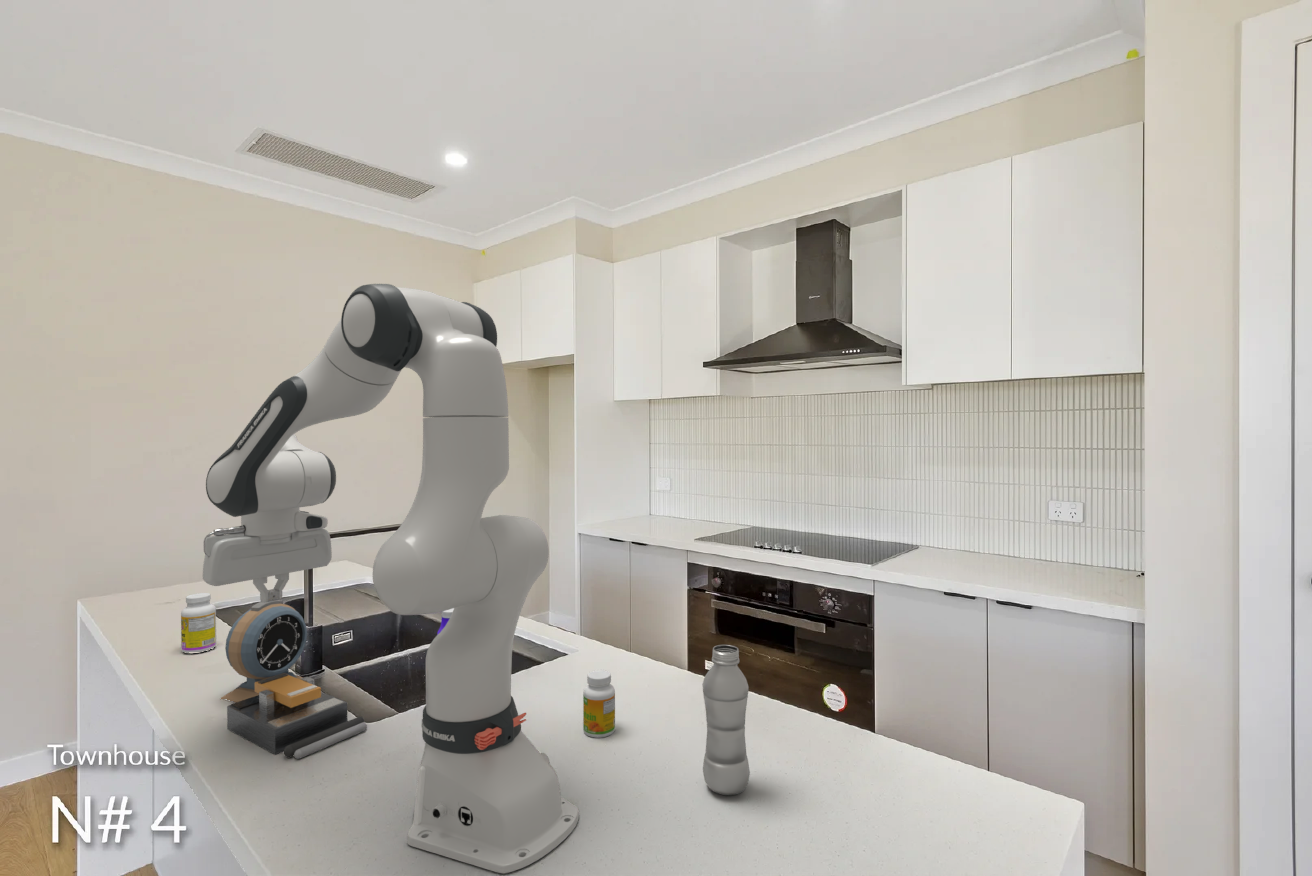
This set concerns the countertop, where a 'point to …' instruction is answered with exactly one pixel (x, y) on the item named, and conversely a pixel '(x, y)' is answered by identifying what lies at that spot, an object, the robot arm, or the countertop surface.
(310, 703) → the dark grey block
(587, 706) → the supplement bottle
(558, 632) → the countertop surface
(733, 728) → the plastic bottle
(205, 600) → the supplement bottle
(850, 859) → the countertop surface
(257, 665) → the alarm clock
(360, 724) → the grey rounded bar
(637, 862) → the countertop surface
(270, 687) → the orange striped box
